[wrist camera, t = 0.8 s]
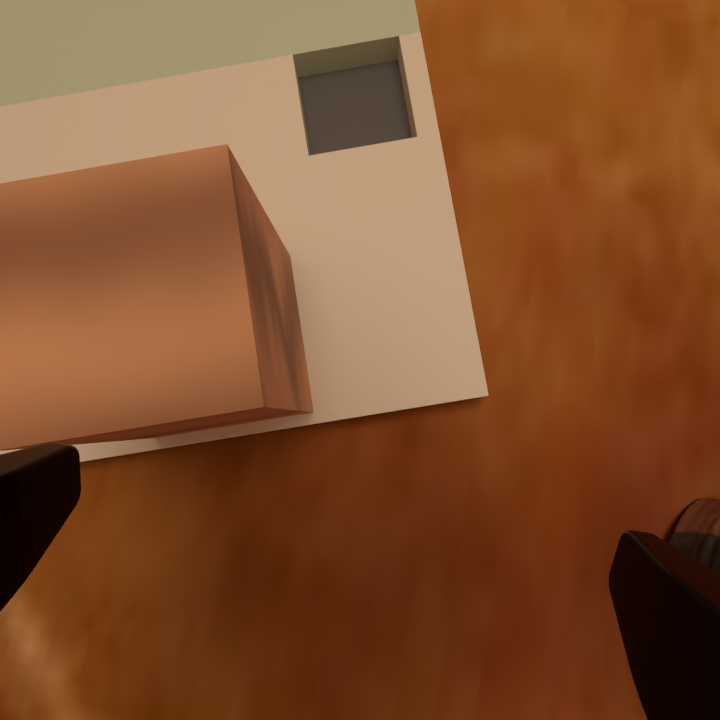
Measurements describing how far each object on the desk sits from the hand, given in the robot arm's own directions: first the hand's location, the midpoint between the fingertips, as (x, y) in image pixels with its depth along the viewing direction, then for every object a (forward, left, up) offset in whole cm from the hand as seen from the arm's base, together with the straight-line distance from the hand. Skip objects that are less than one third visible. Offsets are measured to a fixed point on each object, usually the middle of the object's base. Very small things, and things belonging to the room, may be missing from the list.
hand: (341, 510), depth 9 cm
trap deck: (+5, +11, -16) cm, 20 cm away
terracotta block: (+1, +8, -14) cm, 16 cm away
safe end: (+14, +18, -16) cm, 28 cm away
